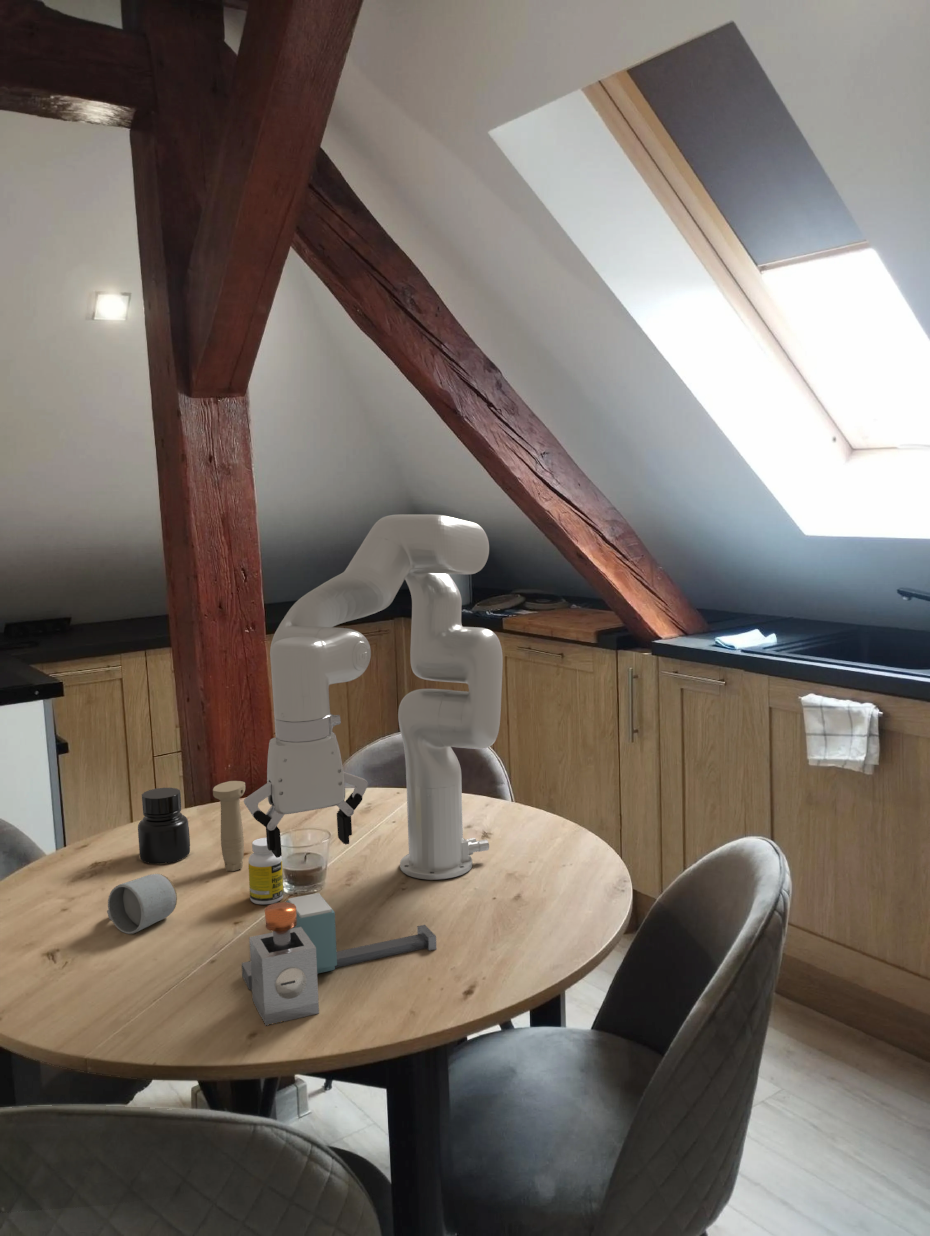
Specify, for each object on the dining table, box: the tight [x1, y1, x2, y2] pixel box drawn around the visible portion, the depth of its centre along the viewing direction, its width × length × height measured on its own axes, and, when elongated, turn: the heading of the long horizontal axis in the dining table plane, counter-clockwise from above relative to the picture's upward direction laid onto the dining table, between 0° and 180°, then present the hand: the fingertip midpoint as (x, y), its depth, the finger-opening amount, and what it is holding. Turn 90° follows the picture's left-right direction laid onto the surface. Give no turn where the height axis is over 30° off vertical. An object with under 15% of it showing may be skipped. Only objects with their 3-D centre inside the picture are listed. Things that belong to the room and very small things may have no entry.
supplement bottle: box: [247, 837, 284, 905], centre depth 177 cm, size 5×5×10 cm
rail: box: [241, 924, 437, 991], centre depth 154 cm, size 27×4×2 cm, turn 114°
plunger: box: [264, 901, 297, 952], centre depth 140 cm, size 4×4×8 cm
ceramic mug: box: [106, 873, 178, 935], centre depth 169 cm, size 11×8×8 cm
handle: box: [212, 780, 246, 872], centre depth 190 cm, size 5×6×15 cm
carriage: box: [285, 892, 337, 975], centre depth 152 cm, size 5×7×9 cm
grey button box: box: [248, 927, 320, 1027], centre depth 141 cm, size 7×7×9 cm
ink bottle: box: [137, 787, 191, 865], centre depth 197 cm, size 10×9×12 cm
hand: (310, 847), depth 150 cm, fingers open, 9 cm apart
